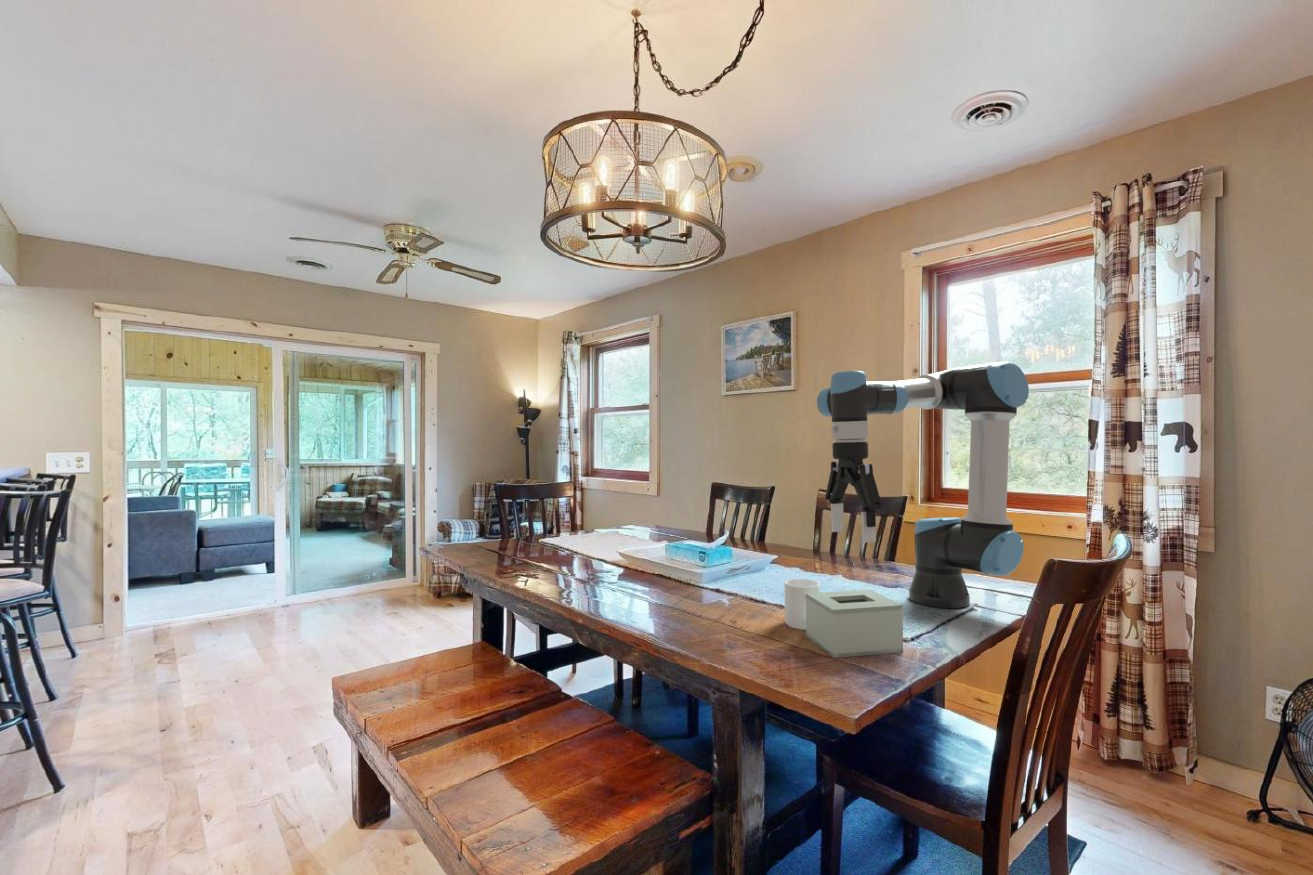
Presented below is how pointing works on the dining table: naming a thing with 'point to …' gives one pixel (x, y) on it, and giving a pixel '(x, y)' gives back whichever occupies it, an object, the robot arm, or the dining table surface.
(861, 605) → the box
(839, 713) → the dining table surface
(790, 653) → the dining table surface
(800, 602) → the mug
